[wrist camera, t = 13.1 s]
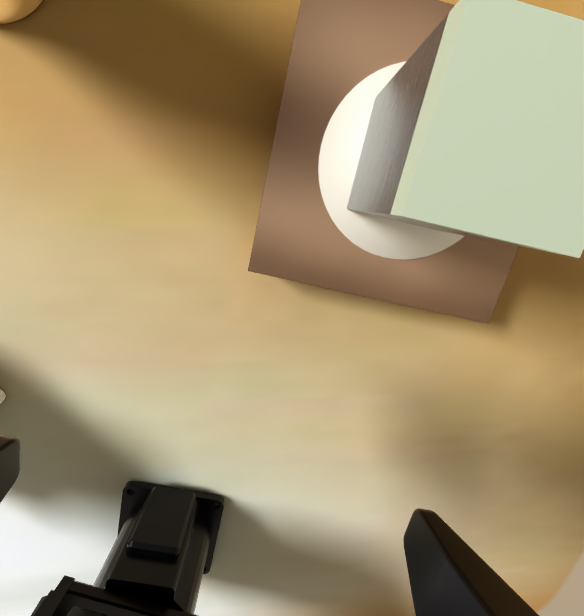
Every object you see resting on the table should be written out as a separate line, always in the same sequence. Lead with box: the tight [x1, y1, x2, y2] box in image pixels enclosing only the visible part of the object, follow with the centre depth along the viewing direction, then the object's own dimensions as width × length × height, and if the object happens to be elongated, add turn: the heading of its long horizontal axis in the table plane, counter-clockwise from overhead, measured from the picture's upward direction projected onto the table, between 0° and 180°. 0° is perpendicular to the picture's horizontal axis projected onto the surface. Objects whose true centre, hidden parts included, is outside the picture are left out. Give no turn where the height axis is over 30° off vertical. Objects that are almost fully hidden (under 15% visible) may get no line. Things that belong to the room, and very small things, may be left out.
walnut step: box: [248, 0, 519, 324], centre depth 17 cm, size 12×12×3 cm
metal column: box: [347, 0, 584, 258], centre depth 12 cm, size 4×4×8 cm
